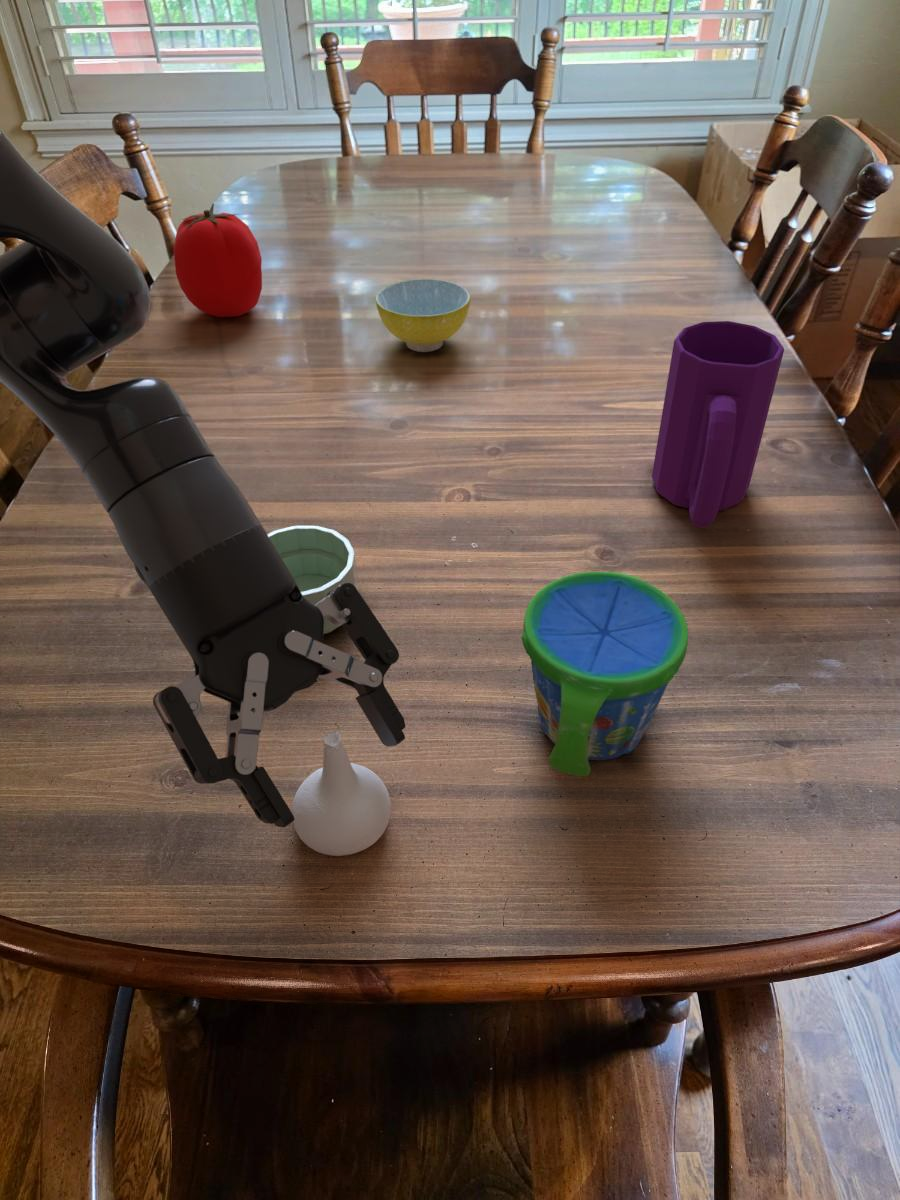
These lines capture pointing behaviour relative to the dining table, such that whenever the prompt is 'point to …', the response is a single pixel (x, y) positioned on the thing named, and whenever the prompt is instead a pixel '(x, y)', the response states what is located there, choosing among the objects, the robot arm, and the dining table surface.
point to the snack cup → (600, 662)
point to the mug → (714, 415)
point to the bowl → (423, 311)
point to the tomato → (218, 263)
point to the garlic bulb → (340, 804)
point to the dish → (316, 561)
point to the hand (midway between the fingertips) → (343, 781)
